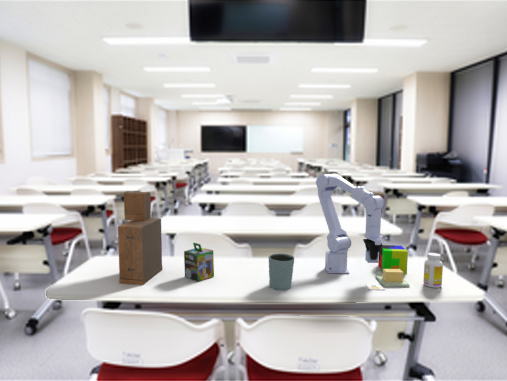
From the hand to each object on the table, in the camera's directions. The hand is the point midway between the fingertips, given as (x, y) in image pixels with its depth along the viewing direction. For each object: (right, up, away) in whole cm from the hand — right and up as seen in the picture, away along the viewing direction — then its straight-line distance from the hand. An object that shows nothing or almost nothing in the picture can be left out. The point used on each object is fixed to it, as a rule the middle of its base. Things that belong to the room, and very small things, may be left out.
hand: (371, 257), depth 153 cm
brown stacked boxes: (-96, -9, +6) cm, 97 cm away
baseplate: (+8, -10, 0) cm, 13 cm away
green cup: (-38, -11, -5) cm, 39 cm away
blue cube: (0, -1, 0) cm, 2 cm away
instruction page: (-1, -11, -6) cm, 12 cm away
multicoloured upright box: (-71, -9, +5) cm, 72 cm away
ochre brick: (+9, -9, 0) cm, 12 cm away
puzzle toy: (+15, -9, +17) cm, 24 cm away
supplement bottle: (+23, -11, -3) cm, 26 cm away
